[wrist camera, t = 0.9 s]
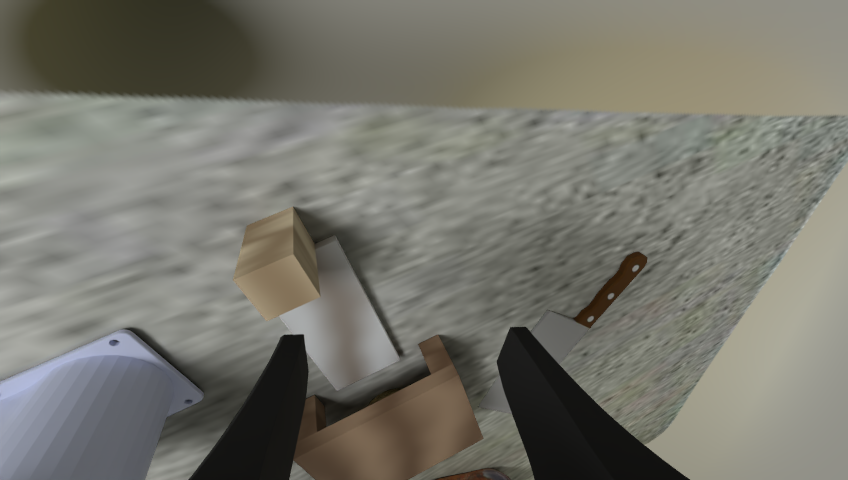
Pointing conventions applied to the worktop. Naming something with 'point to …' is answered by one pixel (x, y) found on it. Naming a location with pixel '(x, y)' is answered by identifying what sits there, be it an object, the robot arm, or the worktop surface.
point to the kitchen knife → (570, 325)
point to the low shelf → (392, 428)
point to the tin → (479, 475)
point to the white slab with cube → (313, 297)
